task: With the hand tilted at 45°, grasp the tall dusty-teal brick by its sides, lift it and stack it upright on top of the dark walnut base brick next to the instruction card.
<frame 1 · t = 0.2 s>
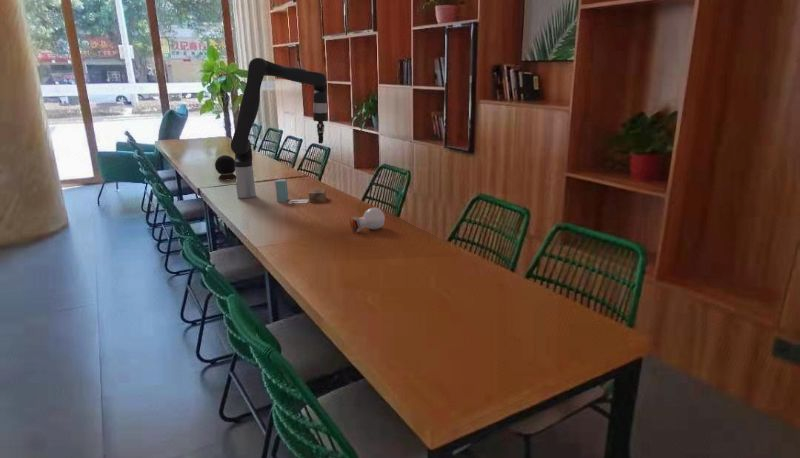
hand: (320, 142, 281), 28 cm above the table, tool pointing down, fingers open, 8 cm apart
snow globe: (227, 178, 339), on the table
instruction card: (298, 201, 273), on the table
walnut base brick: (318, 200, 275), on the table
potion bottle: (368, 230, 222), on the table
teal brick: (282, 200, 277), on the table
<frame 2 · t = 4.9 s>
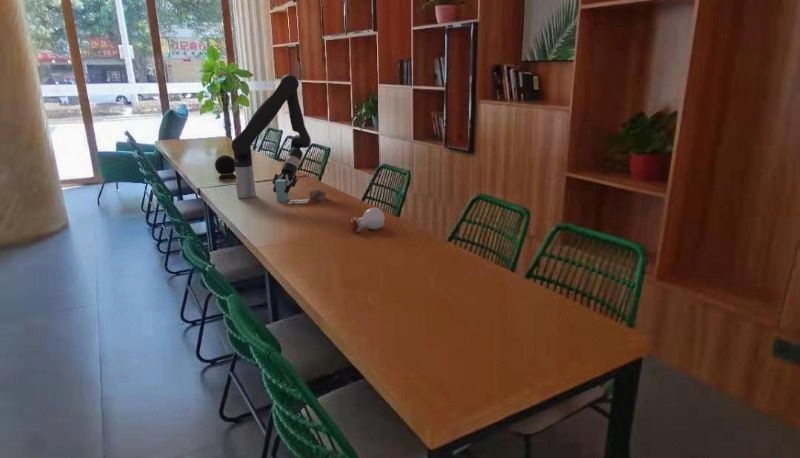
hand: (280, 192, 274), 5 cm above the table, tool tilted 45°, fingers closed on teal brick, 6 cm apart
teal brick: (282, 200, 277), on the table, touching gripper
everything else where it was.
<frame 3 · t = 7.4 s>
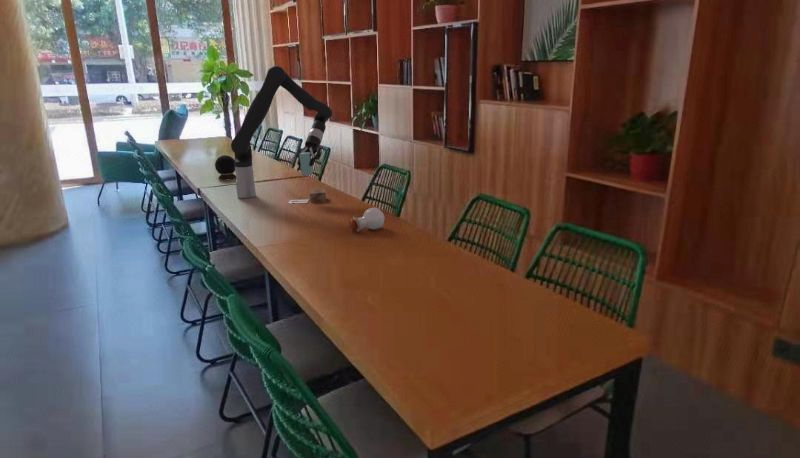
hand: (304, 165, 269), 19 cm above the table, tool tilted 45°, fingers closed on teal brick, 6 cm apart
teal brick: (307, 174, 272), point 14 cm above the table, touching gripper
everything else where it was.
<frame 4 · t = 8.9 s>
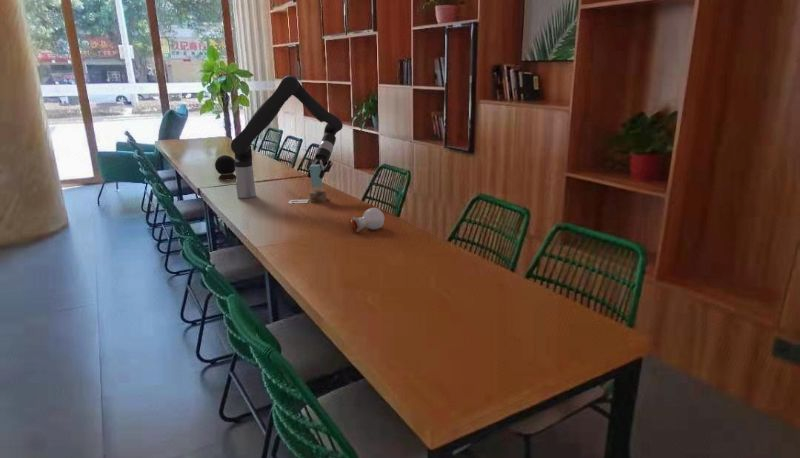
hand: (314, 177, 270), 13 cm above the table, tool tilted 45°, fingers closed on teal brick, 6 cm apart
teal brick: (317, 185, 273), point 8 cm above the table, touching gripper
everything else where it was.
when the fingers open (11 cm above the table, at t = 9.8 s): teal brick drops 1 cm, resting on walnut base brick.
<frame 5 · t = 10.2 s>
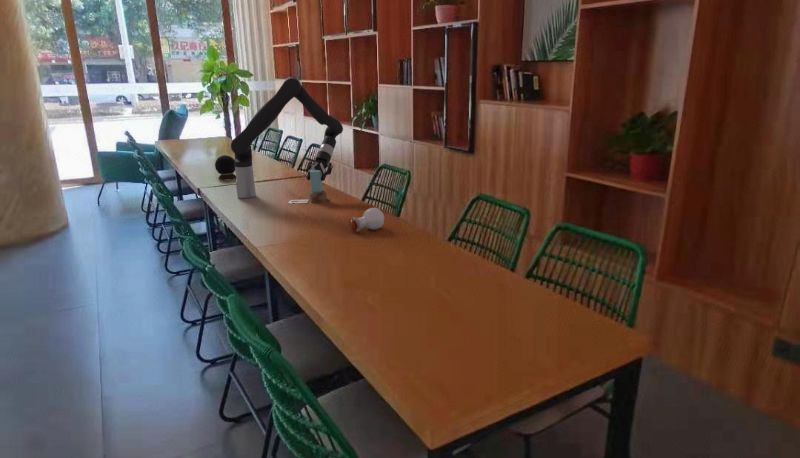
hand: (314, 179, 271), 11 cm above the table, tool tilted 45°, fingers open, 8 cm apart
walnut base brick: (318, 200, 275), on the table, touching teal brick
teal brick: (317, 191, 274), point 5 cm above the table, touching walnut base brick
everything else where it was.
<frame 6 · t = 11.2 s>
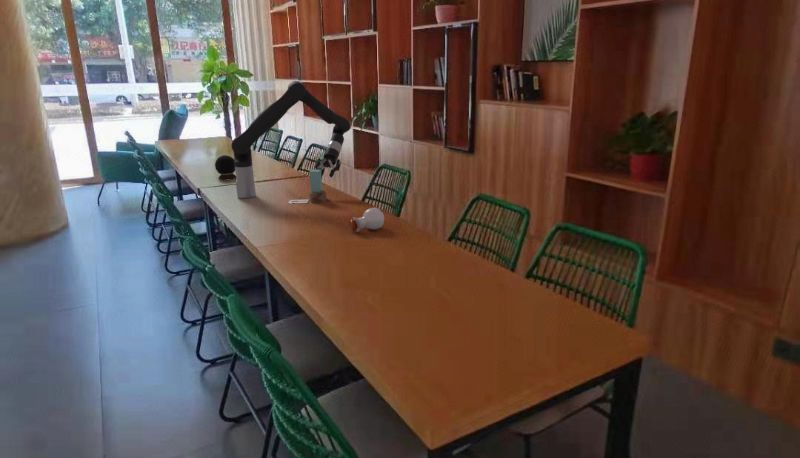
hand: (323, 176, 278), 12 cm above the table, tool tilted 45°, fingers open, 8 cm apart
nothing on the table moved.
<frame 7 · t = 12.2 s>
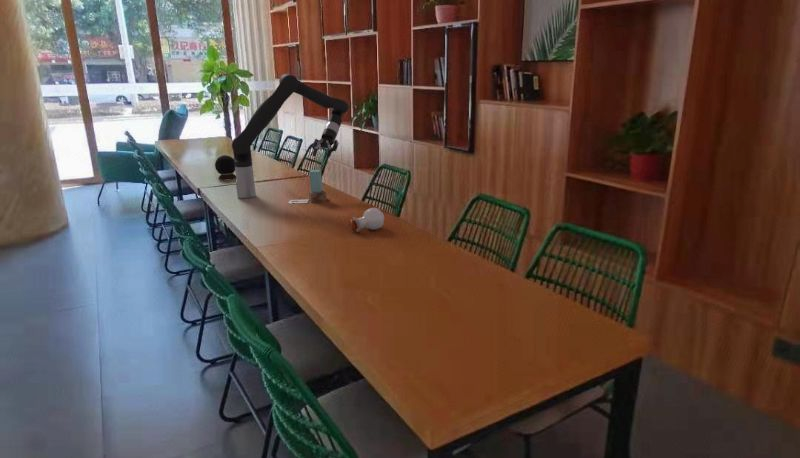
hand: (320, 156, 277), 22 cm above the table, tool tilted 45°, fingers open, 8 cm apart
walnut base brick: (318, 200, 275), on the table
teal brick: (316, 191, 274), point 5 cm above the table
everything else where it was.
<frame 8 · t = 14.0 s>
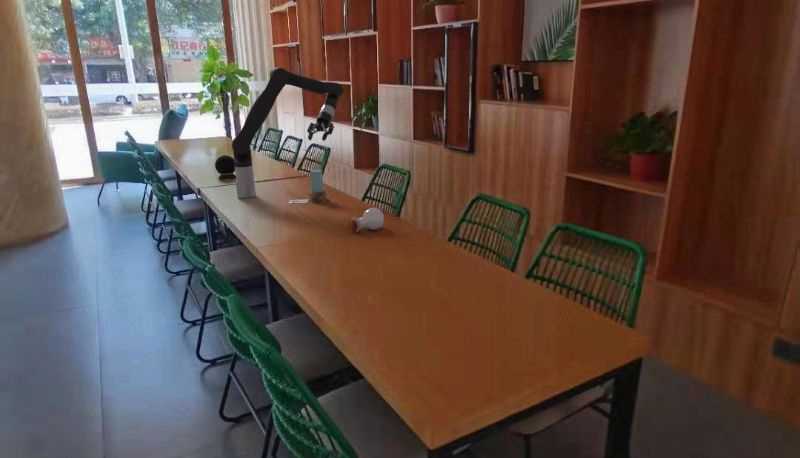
hand: (316, 139, 274), 31 cm above the table, tool tilted 45°, fingers open, 8 cm apart
walnut base brick: (318, 200, 275), on the table, touching teal brick
teal brick: (317, 191, 274), point 5 cm above the table, touching walnut base brick
everything else where it was.
at the end: teal brick 0.2 cm off-centre on the walnut base brick, point 5.0 cm above the walnut base brick's base; teal brick tilted 1°; teal brick touching walnut base brick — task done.
